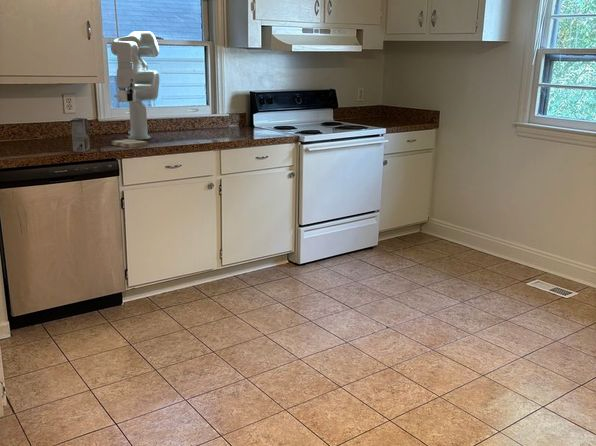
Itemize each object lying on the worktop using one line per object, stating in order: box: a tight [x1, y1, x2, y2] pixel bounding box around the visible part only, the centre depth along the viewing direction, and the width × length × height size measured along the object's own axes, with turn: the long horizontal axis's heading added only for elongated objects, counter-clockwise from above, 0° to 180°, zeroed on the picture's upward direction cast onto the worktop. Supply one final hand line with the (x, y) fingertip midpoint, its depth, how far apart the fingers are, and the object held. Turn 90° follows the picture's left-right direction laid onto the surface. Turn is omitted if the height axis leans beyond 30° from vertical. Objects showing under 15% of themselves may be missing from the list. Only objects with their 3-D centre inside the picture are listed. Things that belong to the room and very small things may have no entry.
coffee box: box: [70, 117, 91, 153], centre depth 310 cm, size 9×6×16 cm
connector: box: [113, 89, 136, 103], centre depth 324 cm, size 4×12×6 cm, turn 142°
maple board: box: [111, 138, 149, 149], centre depth 332 cm, size 16×12×2 cm
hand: (127, 100), depth 326 cm, fingers closed on connector, 4 cm apart
